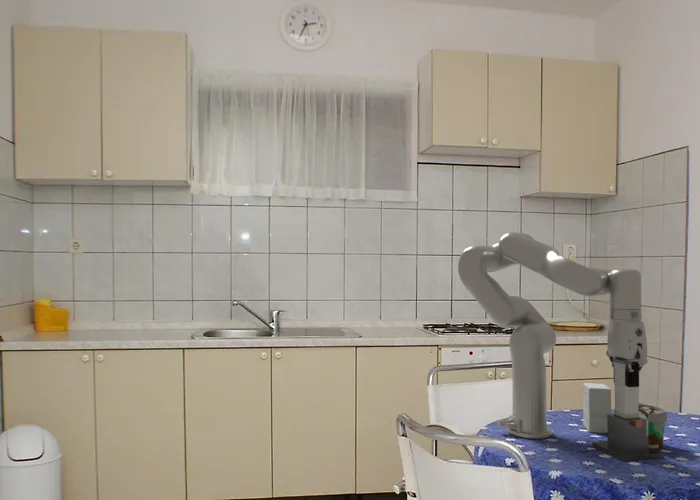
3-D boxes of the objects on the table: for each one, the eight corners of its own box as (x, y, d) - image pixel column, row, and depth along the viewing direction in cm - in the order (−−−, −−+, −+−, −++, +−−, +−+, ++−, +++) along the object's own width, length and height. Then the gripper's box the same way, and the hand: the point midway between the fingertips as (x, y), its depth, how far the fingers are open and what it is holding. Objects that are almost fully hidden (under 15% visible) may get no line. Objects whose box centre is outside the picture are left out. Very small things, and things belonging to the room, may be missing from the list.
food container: (675, 454, 147) (674, 415, 147) (649, 452, 148) (649, 414, 148) (659, 440, 159) (658, 404, 159) (635, 438, 160) (635, 403, 160)
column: (625, 426, 146) (624, 361, 146) (613, 421, 150) (612, 358, 151) (640, 425, 147) (639, 360, 147) (627, 420, 151) (627, 357, 152)
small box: (612, 433, 165) (611, 389, 165) (589, 432, 166) (588, 388, 166) (604, 426, 172) (604, 383, 173) (582, 424, 174) (582, 382, 174)
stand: (623, 461, 141) (622, 424, 141) (592, 446, 153) (592, 412, 153) (663, 457, 144) (663, 421, 144) (630, 443, 155) (629, 409, 156)
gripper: (661, 318, 142) (662, 391, 141) (615, 312, 158) (616, 378, 158) (636, 318, 140) (637, 392, 140) (592, 313, 157) (593, 379, 156)
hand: (626, 384), depth 149 cm, fingers open, 4 cm apart
